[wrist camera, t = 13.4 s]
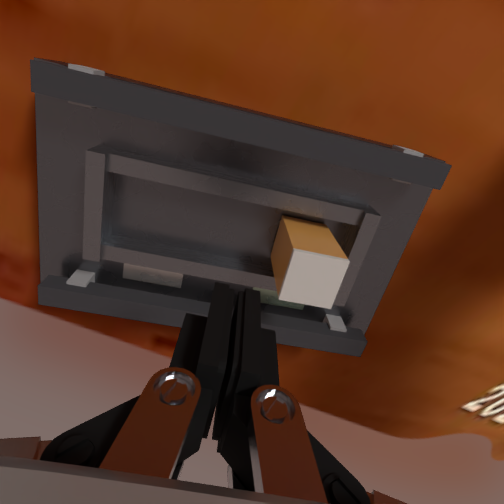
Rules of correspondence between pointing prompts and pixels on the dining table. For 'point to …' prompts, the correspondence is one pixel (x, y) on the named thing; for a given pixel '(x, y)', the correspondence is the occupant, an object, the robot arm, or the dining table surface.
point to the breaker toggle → (307, 263)
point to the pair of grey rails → (234, 128)
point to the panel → (206, 208)
